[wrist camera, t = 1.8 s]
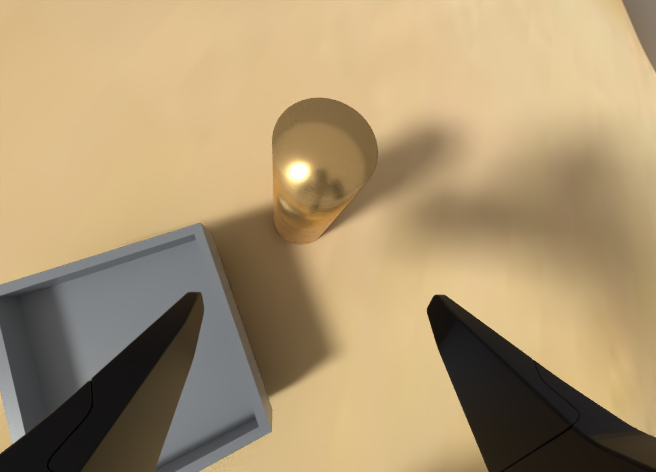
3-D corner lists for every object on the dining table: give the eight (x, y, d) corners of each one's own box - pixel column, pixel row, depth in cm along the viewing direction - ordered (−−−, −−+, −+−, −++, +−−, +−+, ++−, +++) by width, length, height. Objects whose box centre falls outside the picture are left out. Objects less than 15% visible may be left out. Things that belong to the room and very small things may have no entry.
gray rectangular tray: (272, 400, 20) (271, 431, 16) (98, 490, 17) (38, 559, 13) (215, 236, 22) (200, 222, 17) (47, 291, 19) (-23, 291, 14)
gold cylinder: (335, 230, 24) (396, 171, 12) (289, 253, 23) (305, 214, 11) (311, 185, 24) (346, 85, 12) (264, 206, 23) (252, 117, 11)
